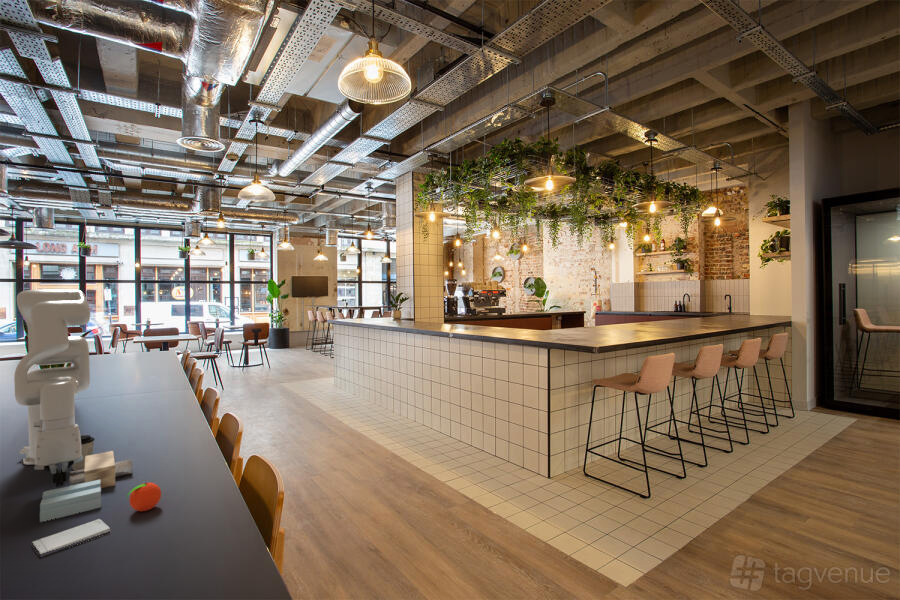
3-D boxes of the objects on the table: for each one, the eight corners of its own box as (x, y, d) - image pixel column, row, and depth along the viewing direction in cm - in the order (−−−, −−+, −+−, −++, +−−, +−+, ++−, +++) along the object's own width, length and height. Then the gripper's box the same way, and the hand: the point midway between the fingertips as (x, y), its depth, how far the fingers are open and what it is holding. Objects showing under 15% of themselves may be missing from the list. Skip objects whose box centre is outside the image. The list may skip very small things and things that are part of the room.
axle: (69, 489, 129) (69, 475, 128) (70, 483, 132) (70, 469, 132) (132, 475, 138) (132, 462, 138) (131, 469, 142) (131, 457, 141)
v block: (40, 522, 110) (39, 506, 109) (44, 505, 119) (43, 490, 119) (101, 507, 117) (100, 492, 117) (100, 491, 126) (100, 478, 126)
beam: (85, 492, 127) (84, 471, 126) (85, 474, 139) (85, 456, 139) (115, 485, 131) (114, 465, 131) (113, 468, 143) (113, 450, 143)
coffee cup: (100, 464, 147) (99, 435, 147) (77, 472, 141) (76, 441, 141) (86, 462, 150) (85, 433, 149) (62, 470, 143) (62, 439, 143)
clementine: (132, 520, 110) (131, 492, 110) (120, 513, 113) (119, 486, 113) (166, 507, 117) (166, 481, 116) (154, 501, 120) (153, 475, 120)
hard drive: (99, 517, 109) (31, 540, 99) (110, 527, 105) (40, 552, 95) (99, 524, 109) (32, 547, 100) (110, 534, 105) (40, 560, 95)
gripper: (21, 431, 121) (22, 497, 121) (90, 421, 130) (92, 482, 131) (24, 425, 127) (26, 488, 127) (91, 415, 136) (92, 474, 137)
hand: (59, 484), depth 129 cm, fingers closed
